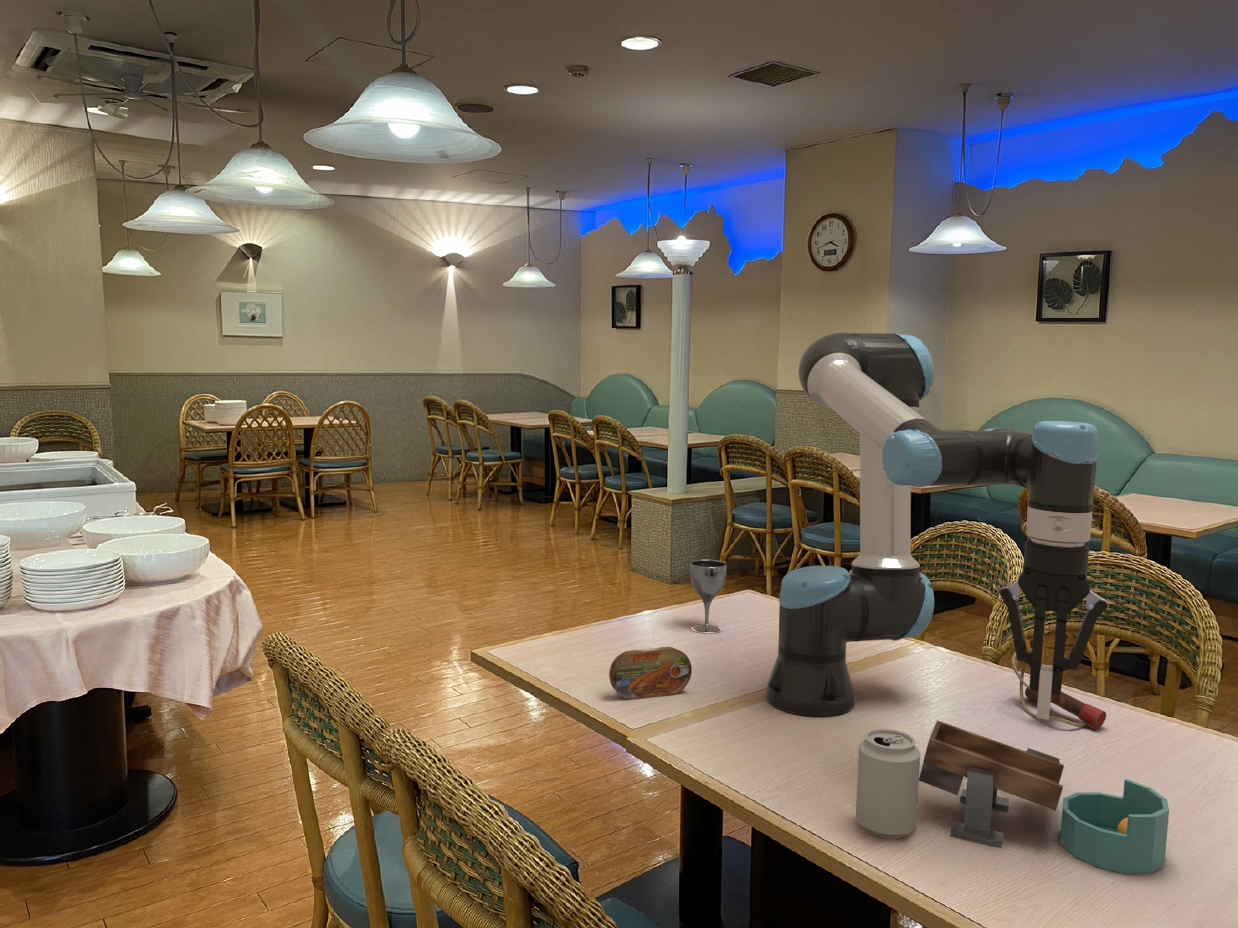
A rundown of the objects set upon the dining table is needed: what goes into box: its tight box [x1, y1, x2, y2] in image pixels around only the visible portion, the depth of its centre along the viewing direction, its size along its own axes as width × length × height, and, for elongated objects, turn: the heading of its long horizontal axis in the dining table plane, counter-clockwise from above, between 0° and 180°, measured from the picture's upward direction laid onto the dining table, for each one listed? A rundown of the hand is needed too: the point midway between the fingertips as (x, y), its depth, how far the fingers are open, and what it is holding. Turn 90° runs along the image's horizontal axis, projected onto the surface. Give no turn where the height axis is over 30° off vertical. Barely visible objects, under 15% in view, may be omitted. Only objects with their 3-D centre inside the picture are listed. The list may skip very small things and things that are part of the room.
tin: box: [608, 646, 693, 701], centre depth 162 cm, size 15×3×8 cm, turn 109°
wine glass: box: [689, 558, 727, 633], centre depth 202 cm, size 8×8×15 cm
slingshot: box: [1009, 637, 1107, 731], centre depth 156 cm, size 17×10×15 cm
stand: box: [949, 767, 1010, 849], centre depth 119 cm, size 6×13×8 cm, turn 153°
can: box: [855, 728, 921, 839], centre depth 116 cm, size 8×8×12 cm
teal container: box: [1059, 778, 1170, 875], centre depth 112 cm, size 11×11×7 cm
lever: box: [919, 720, 1065, 812], centre depth 121 cm, size 16×13×6 cm
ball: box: [1117, 817, 1128, 834], centre depth 111 cm, size 4×4×4 cm
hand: (1043, 715), depth 121 cm, fingers closed
